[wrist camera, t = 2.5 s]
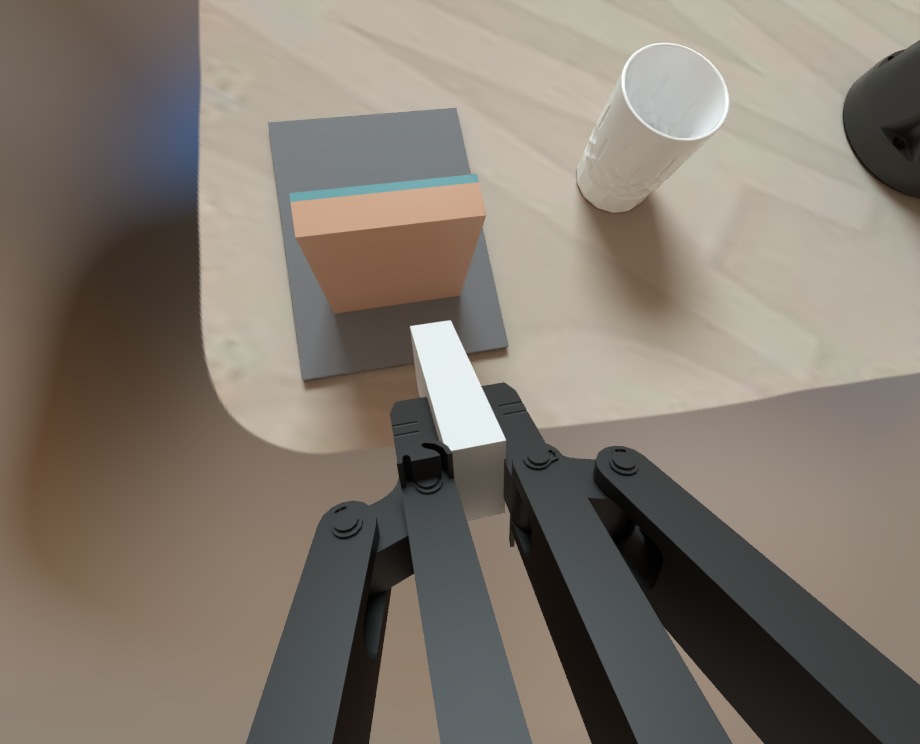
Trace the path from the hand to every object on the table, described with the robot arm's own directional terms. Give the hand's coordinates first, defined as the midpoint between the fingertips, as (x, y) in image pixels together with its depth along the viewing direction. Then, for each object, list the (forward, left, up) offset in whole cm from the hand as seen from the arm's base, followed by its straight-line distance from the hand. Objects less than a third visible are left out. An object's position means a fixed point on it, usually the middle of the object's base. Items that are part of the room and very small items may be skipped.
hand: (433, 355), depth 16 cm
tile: (+4, -9, -17) cm, 20 cm away
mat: (+5, -14, -18) cm, 23 cm away
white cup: (-13, -23, -18) cm, 33 cm away
